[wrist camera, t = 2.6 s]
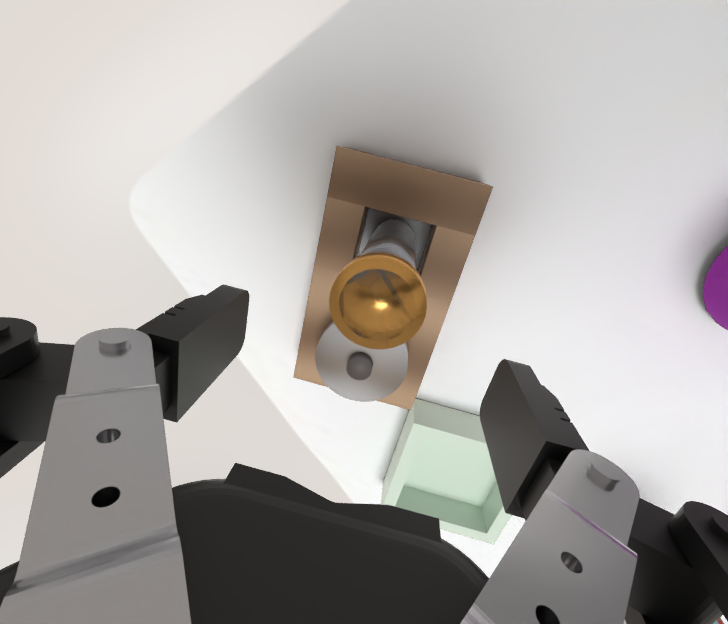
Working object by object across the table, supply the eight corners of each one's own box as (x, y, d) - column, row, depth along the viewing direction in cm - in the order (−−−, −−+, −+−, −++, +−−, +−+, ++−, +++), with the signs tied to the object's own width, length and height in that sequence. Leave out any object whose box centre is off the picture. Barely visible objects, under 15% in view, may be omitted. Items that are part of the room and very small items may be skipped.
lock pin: (373, 206, 24) (339, 246, 13) (428, 221, 24) (440, 273, 13) (360, 260, 26) (321, 335, 15) (412, 274, 26) (410, 360, 15)
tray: (413, 397, 30) (413, 423, 27) (532, 430, 30) (545, 459, 27) (383, 482, 34) (380, 511, 31) (487, 511, 34) (494, 544, 31)
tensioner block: (345, 147, 23) (325, 144, 18) (483, 183, 23) (504, 191, 18) (304, 357, 30) (280, 400, 24) (411, 386, 29) (410, 436, 24)
